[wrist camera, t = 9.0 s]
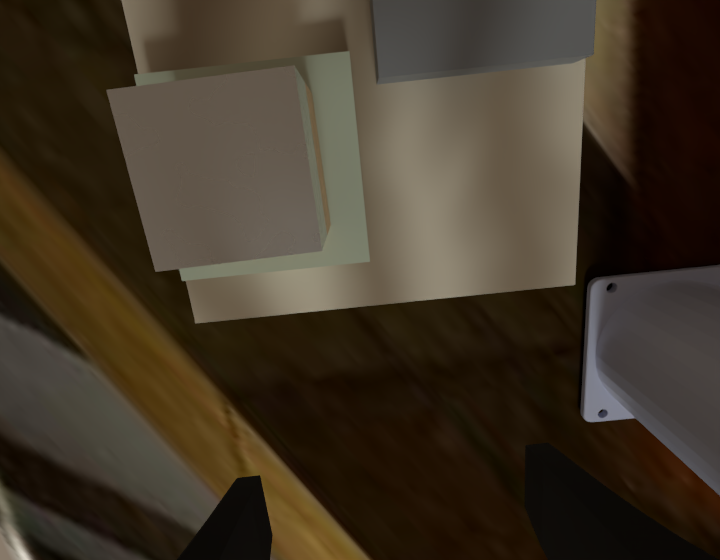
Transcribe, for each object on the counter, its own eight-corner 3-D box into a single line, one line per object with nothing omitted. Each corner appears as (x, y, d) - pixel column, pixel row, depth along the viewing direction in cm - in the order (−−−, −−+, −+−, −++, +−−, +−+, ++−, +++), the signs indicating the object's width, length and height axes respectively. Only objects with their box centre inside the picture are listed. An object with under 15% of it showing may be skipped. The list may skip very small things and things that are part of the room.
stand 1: (349, 60, 17) (349, 51, 15) (368, 253, 19) (369, 261, 18) (152, 81, 17) (133, 74, 15) (194, 271, 19) (181, 281, 18)
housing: (312, 93, 16) (294, 65, 11) (330, 225, 17) (322, 251, 12) (181, 110, 16) (106, 90, 11) (210, 239, 17) (155, 271, 12)
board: (582, -185, 15) (597, -207, 15) (564, 278, 21) (575, 284, 20) (104, -129, 16) (87, -148, 15) (202, 315, 21) (195, 323, 20)
